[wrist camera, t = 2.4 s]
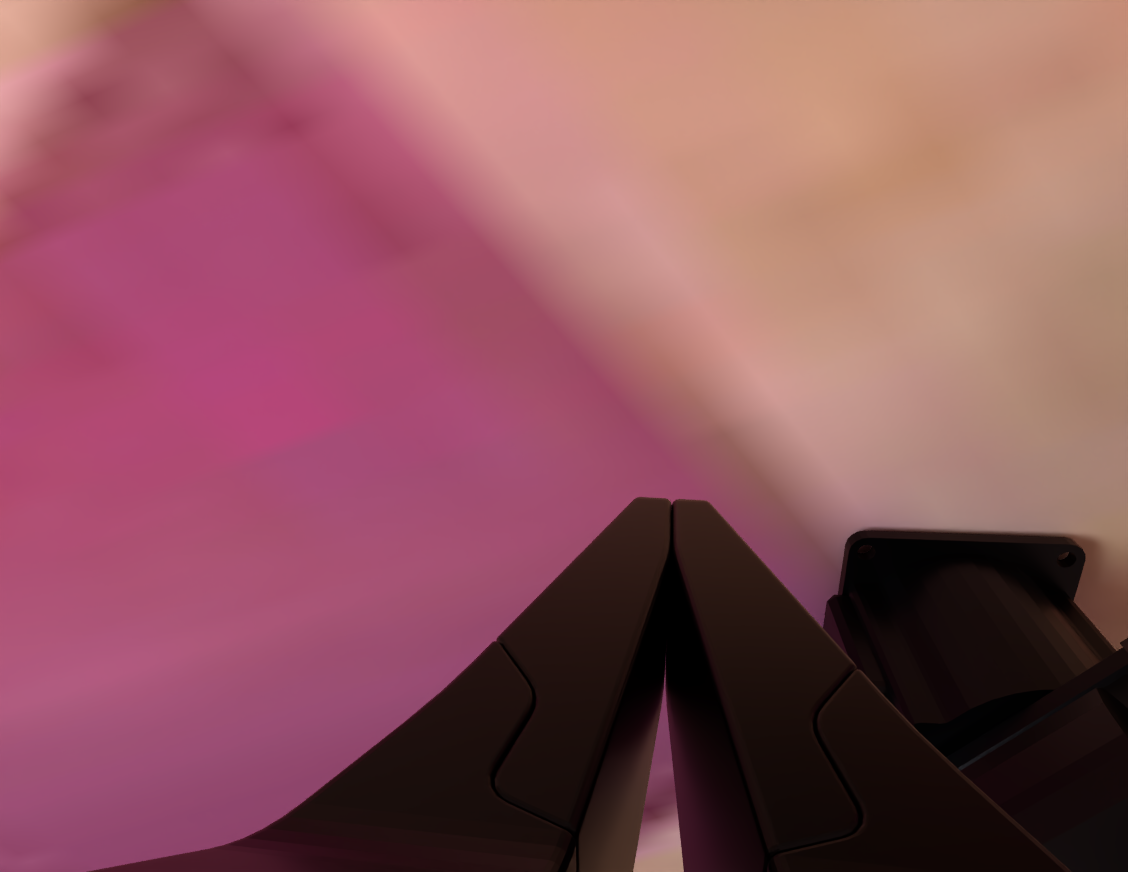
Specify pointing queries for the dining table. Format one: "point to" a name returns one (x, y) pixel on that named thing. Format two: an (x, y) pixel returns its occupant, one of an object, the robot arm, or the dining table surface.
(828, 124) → the dining table surface
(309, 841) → the robot arm
